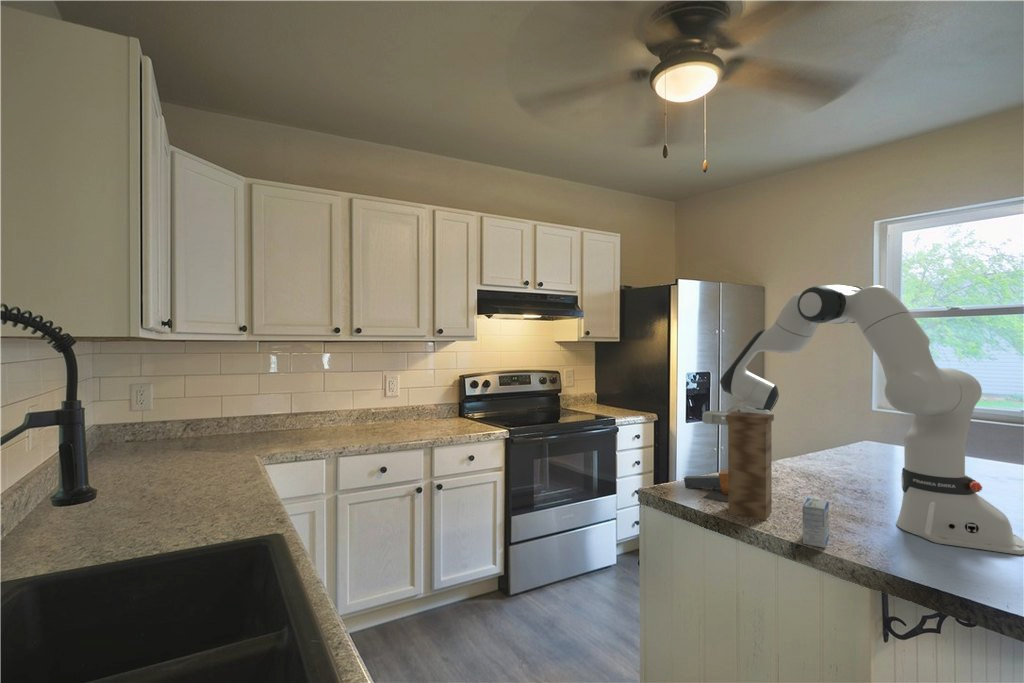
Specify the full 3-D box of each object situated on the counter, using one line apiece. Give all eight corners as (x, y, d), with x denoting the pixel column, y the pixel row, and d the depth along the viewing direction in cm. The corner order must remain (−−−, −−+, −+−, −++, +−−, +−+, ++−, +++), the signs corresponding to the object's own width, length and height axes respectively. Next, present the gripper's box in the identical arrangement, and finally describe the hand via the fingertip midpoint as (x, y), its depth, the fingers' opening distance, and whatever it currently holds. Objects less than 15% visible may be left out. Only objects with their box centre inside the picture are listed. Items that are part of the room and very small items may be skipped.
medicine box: (825, 549, 107) (825, 509, 107) (802, 544, 110) (802, 505, 110) (829, 538, 113) (829, 500, 113) (806, 533, 116) (806, 496, 116)
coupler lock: (685, 471, 156) (681, 474, 152) (743, 469, 146) (740, 473, 142) (688, 490, 155) (684, 494, 151) (746, 490, 146) (744, 494, 142)
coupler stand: (774, 511, 131) (773, 414, 131) (767, 521, 124) (767, 418, 124) (733, 504, 137) (733, 411, 137) (725, 513, 130) (725, 415, 130)
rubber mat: (749, 490, 150) (749, 489, 150) (736, 503, 137) (736, 502, 137) (718, 485, 156) (718, 484, 156) (703, 497, 143) (703, 496, 143)
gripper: (708, 405, 168) (696, 409, 157) (775, 410, 156) (767, 415, 145) (708, 423, 168) (696, 429, 157) (775, 430, 156) (767, 436, 145)
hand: (730, 422), depth 151 cm, fingers open, 2 cm apart
